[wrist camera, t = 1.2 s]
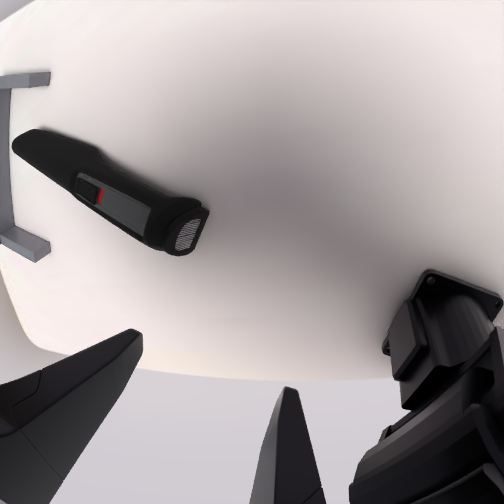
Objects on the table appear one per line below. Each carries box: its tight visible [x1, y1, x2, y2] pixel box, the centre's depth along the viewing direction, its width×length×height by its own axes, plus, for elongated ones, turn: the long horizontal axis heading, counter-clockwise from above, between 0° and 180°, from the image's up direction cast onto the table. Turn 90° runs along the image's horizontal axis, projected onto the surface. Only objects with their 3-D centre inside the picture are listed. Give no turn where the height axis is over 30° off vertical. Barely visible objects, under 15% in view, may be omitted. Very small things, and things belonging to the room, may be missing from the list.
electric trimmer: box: [12, 129, 209, 256], centre depth 18 cm, size 4×16×3 cm, turn 64°
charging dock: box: [0, 72, 50, 263], centre depth 19 cm, size 7×15×3 cm, turn 167°
